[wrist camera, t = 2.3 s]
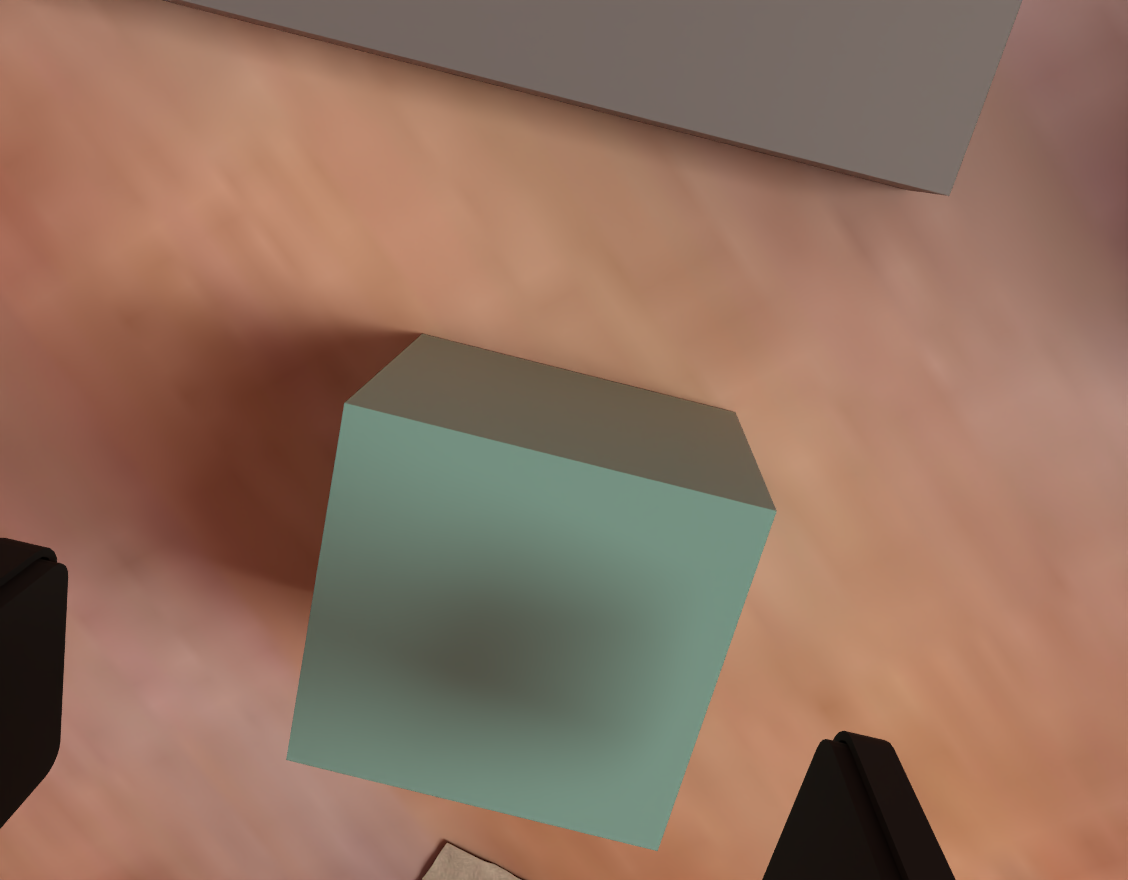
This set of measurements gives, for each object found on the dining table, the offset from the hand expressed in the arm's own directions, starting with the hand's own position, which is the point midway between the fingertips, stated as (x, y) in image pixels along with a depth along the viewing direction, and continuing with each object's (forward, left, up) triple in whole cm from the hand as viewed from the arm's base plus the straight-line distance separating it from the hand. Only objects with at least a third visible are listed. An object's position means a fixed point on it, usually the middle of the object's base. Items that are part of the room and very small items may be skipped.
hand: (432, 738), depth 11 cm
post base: (+5, -16, -8) cm, 18 cm away
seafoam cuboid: (-1, 0, -8) cm, 8 cm away
